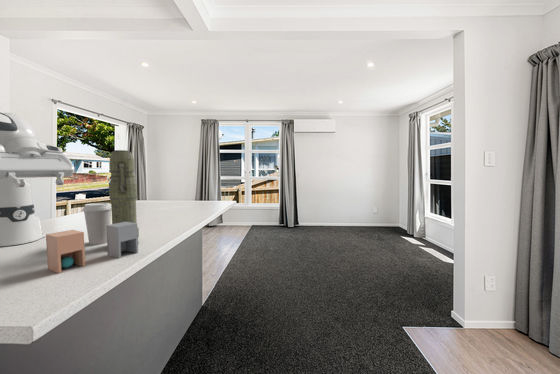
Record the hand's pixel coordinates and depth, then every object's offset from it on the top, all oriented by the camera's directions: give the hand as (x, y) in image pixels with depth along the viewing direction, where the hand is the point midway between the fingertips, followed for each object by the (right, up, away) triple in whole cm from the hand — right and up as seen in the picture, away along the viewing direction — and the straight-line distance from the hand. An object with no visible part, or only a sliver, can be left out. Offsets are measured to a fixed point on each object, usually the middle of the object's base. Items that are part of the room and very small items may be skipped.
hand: (42, 184), depth 80 cm
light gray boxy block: (+20, -23, +8) cm, 31 cm away
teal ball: (+11, -22, -4) cm, 25 cm away
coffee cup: (+2, -22, +22) cm, 31 cm away
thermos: (+14, -22, +19) cm, 33 cm away
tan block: (+11, -24, -4) cm, 27 cm away
